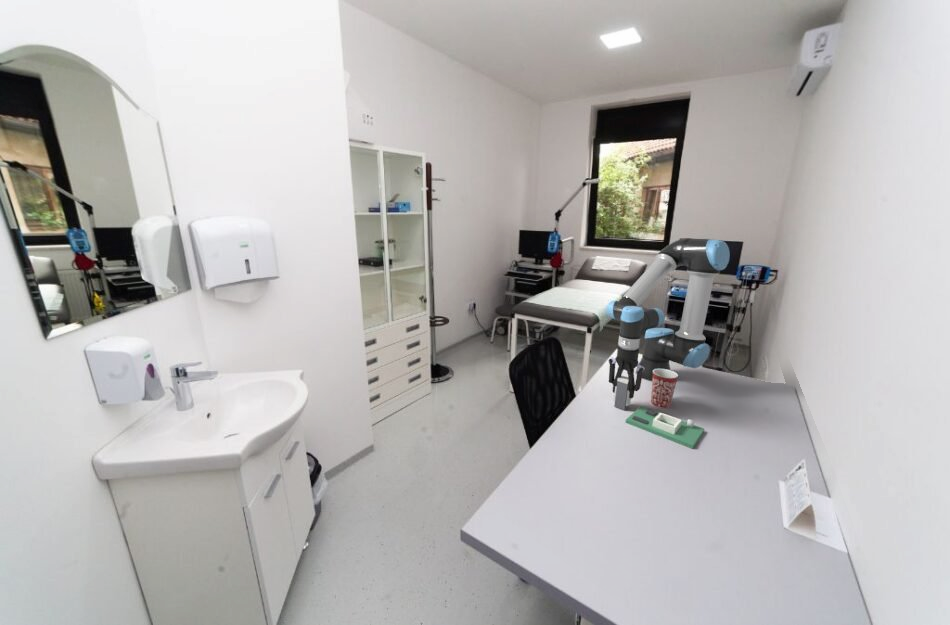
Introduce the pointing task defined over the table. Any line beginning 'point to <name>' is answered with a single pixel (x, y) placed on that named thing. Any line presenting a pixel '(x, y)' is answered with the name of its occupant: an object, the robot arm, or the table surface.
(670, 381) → the mug
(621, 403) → the plug
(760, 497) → the table surface
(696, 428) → the board
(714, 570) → the table surface
